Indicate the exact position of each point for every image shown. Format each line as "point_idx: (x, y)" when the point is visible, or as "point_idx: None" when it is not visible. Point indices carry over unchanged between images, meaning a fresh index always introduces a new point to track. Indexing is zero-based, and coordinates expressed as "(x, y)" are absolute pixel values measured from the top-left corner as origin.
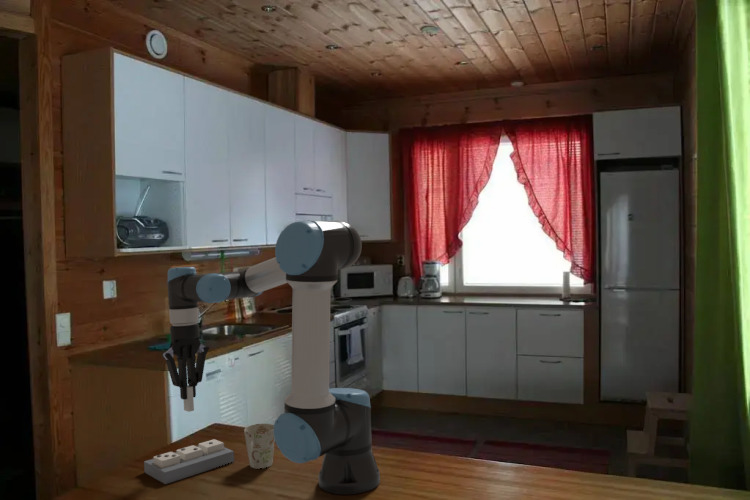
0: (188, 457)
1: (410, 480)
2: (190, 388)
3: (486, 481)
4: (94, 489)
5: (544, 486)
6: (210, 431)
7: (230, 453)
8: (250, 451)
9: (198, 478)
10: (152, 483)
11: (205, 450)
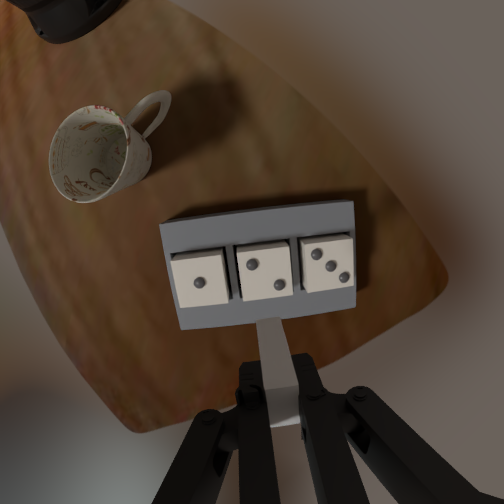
0: (278, 244)
1: None
2: (278, 382)
3: None
4: (431, 273)
5: None
6: (153, 418)
7: (170, 222)
8: (161, 90)
9: (275, 178)
10: (359, 225)
11: (223, 263)
